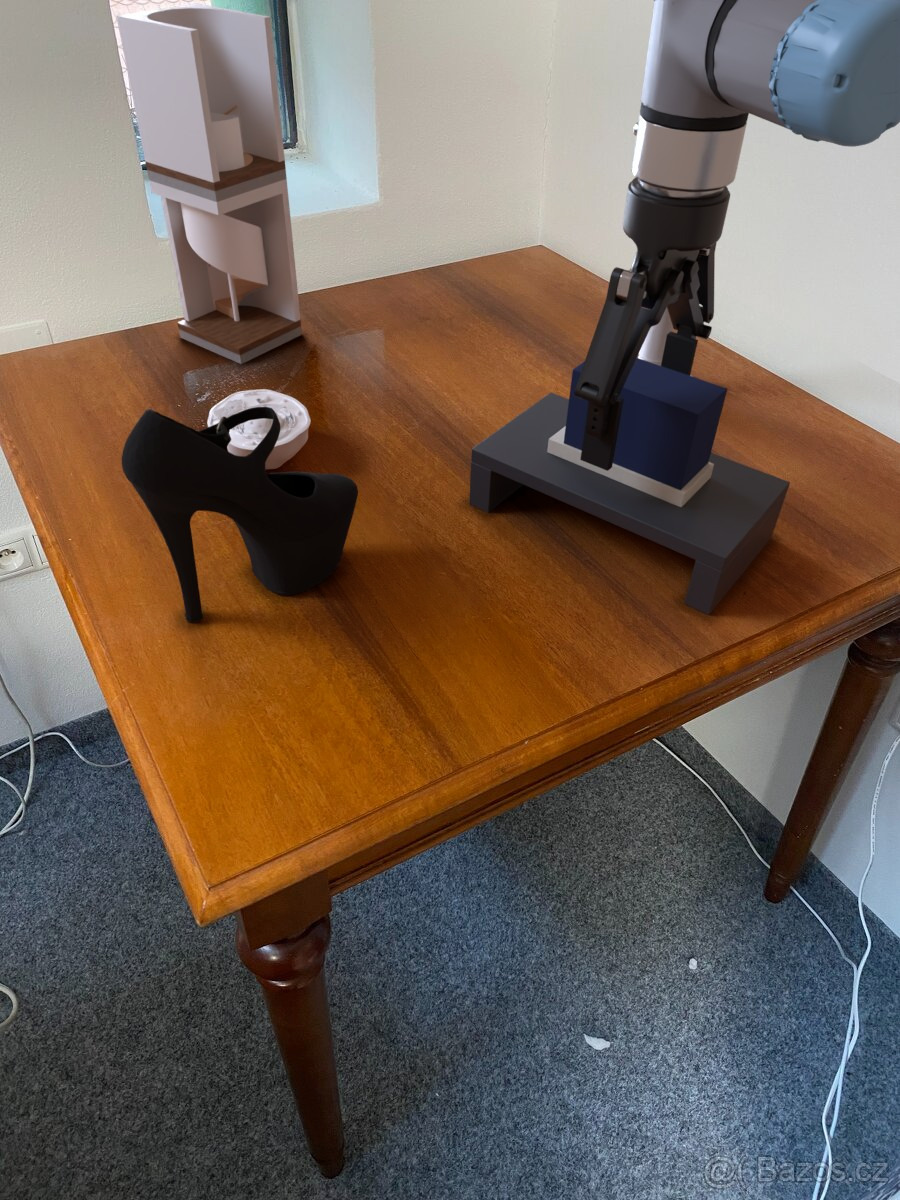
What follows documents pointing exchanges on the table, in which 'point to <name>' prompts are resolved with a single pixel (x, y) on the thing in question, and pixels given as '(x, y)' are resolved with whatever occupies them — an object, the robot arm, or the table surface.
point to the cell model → (264, 424)
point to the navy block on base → (653, 432)
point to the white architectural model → (217, 171)
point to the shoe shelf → (637, 499)
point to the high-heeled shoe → (238, 501)
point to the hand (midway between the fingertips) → (634, 431)
